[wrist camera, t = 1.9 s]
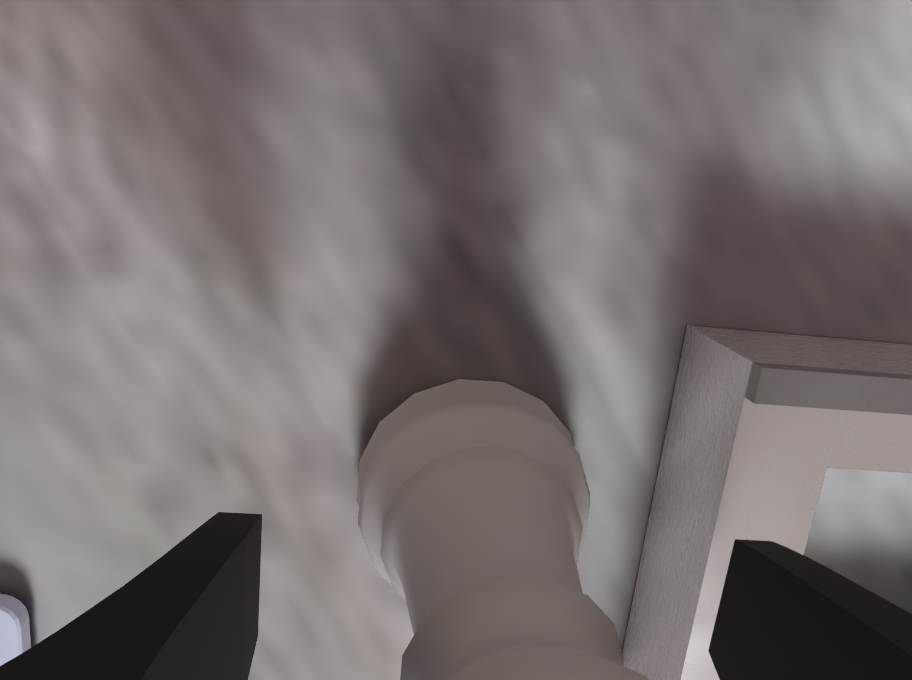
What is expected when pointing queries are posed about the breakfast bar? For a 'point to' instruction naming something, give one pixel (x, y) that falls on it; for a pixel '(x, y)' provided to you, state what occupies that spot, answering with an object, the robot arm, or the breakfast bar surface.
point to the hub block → (753, 469)
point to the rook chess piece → (485, 537)
